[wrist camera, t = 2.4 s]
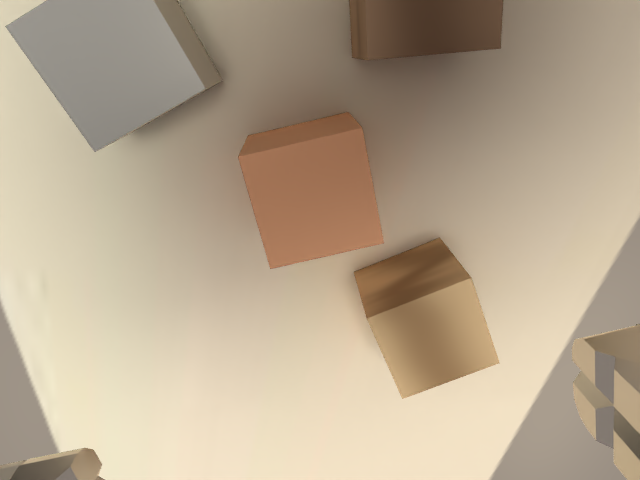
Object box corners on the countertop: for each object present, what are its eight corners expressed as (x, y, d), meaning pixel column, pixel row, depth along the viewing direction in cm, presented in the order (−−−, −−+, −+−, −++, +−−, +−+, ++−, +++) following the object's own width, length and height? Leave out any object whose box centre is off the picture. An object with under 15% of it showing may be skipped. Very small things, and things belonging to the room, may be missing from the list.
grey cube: (161, -28, 21) (124, -49, 16) (223, 80, 23) (205, 88, 18) (66, 30, 22) (5, 26, 17) (133, 131, 23) (94, 152, 19)
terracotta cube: (348, 111, 24) (362, 127, 19) (366, 207, 25) (383, 243, 21) (248, 135, 24) (237, 156, 19) (274, 228, 26) (270, 268, 21)
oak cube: (439, 237, 26) (471, 277, 22) (464, 310, 28) (499, 362, 23) (353, 271, 27) (366, 318, 22) (384, 341, 29) (402, 398, 24)
